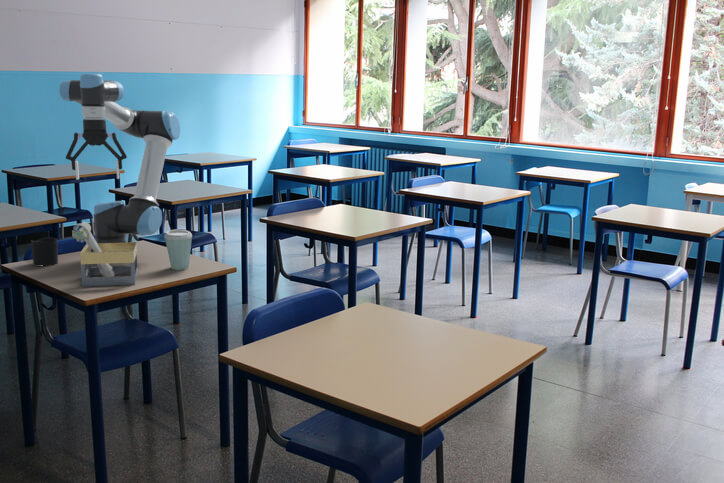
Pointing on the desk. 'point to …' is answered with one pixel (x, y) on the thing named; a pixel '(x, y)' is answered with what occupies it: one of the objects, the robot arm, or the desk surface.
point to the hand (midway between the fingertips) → (98, 178)
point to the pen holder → (45, 251)
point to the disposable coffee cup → (178, 248)
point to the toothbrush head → (91, 245)
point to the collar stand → (110, 254)
